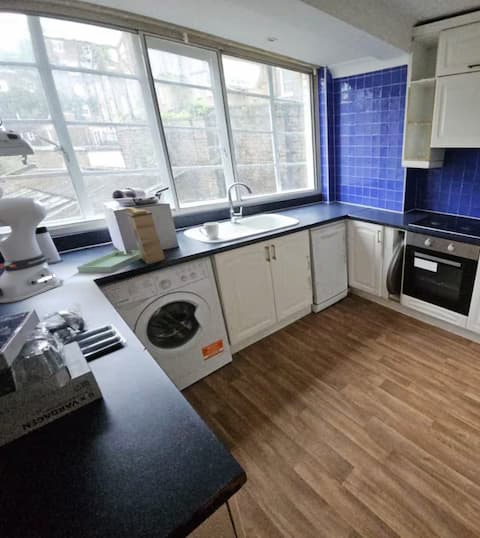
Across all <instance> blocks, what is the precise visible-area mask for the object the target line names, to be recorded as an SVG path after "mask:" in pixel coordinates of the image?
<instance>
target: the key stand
mask: <svg viewBox="0 0 480 538" xmlns="http://www.w3.org/2000/svg"><path fill="white" fill-rule="evenodd" d="M146 211H147V213H143V214H137V215H135V214H132V211H128V212H125V216H126V217H127V219H128V222H129V225H130V228H131V231H132V235H133V238H134V240H135V243H136V245H137V249H138V251H139V252H140V255H141V260H142V262H145V263H146V264H148V265H151V264H154V263H158V262H161V261H165V260H166V257H165V254H164V250H163V247H162V245H161V241H160V238H159V234H158V231H157V228H156V225H155V221H154V218H153V212H151V211H148V210H146Z"/></svg>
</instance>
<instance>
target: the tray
mask: <svg viewBox="0 0 480 538" xmlns="http://www.w3.org/2000/svg"><path fill="white" fill-rule="evenodd" d="M124 251H125V250H114V251H111V252H109V253H107V254H105V255H102V256H100V257H97V258H95V259H93V260H90V261H88V262H85V263H83V264H81V265H78V266H76V268H77V271H78V273H114V272H116V271H118V270H121V269H123V268H125V267H127V266H129V265H131V264H133V263H135V262H137V261H139V260H142V258H141V255H140V252H139V250H131V251H132V254H124Z"/></svg>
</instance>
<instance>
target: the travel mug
mask: <svg viewBox="0 0 480 538" xmlns="http://www.w3.org/2000/svg"><path fill="white" fill-rule="evenodd" d="M35 236H36V240H37V243H38V246H39V248H40V250H41V252H42V253H43V254H44V255H45V257H46V259H47V264H48V265H53V264H57V263H60V262H62V258H61V257H60V254H59V252H58V250H57V247H56V246H55V243H54V241H53V239H52V237H51V235H50V232H49V230H48V229H47V226H46V225H45V226H43V225H42V226H37V228H36V232H35Z"/></svg>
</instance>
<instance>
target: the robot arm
mask: <svg viewBox="0 0 480 538" xmlns="http://www.w3.org/2000/svg"><path fill="white" fill-rule="evenodd" d="M35 153H36V150H35V148H34V147H33V145H32V143H31V142H30V140H28V139H27V138H26V137H24V134H23V132H21V131H18V130H13V129H9V128H8V129H7V128H6V127H5V125H4V124H3V121H2V118H0V158H1V157H15V156H16V157H17V156H22V158H24V159H23V160H21V162H22V164H23V165H24V166H25V165H29V162H28V161H27V160H28V156H33V155H35ZM0 167H1V164H0ZM4 191H5V190H4V188H3V186H2V184H0V228H3V227H4V228H5V227H9V228H10V230H11V231H10V232H9V233H6V234H5V235H3V236H2V237H0V253H1V256H2V257H3V259H4V262H3V263H0V270H3V269H4V271H3V272H2V274H1V275H0V304H7V303H16V302H19V301H23V300H26V299H28V298H30V297H34V296H36V295H39V294H42V293H44V292H47V291H49V290H52V289H54V288H57V287H59V286H61V282H62V281H61V279H60V278H59V277H58V276H57V274H55V272H54V271H53V269H52V268H51V267H50V264H47V259H46V257H45V255H44V254H43V253H42V252H41V250H40V248H39V246H38V243H37V240H36V236H35V232H36V228H38V227H39V225H40V224H41V223H42V222H43V221H44V220H45V219H46V217H47V214H48V213H47V208H46V206H45V205H44V203H42V202H41V201H40V200H39V199H37V198H35V197H22V196H15V197H3V195H4Z"/></svg>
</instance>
